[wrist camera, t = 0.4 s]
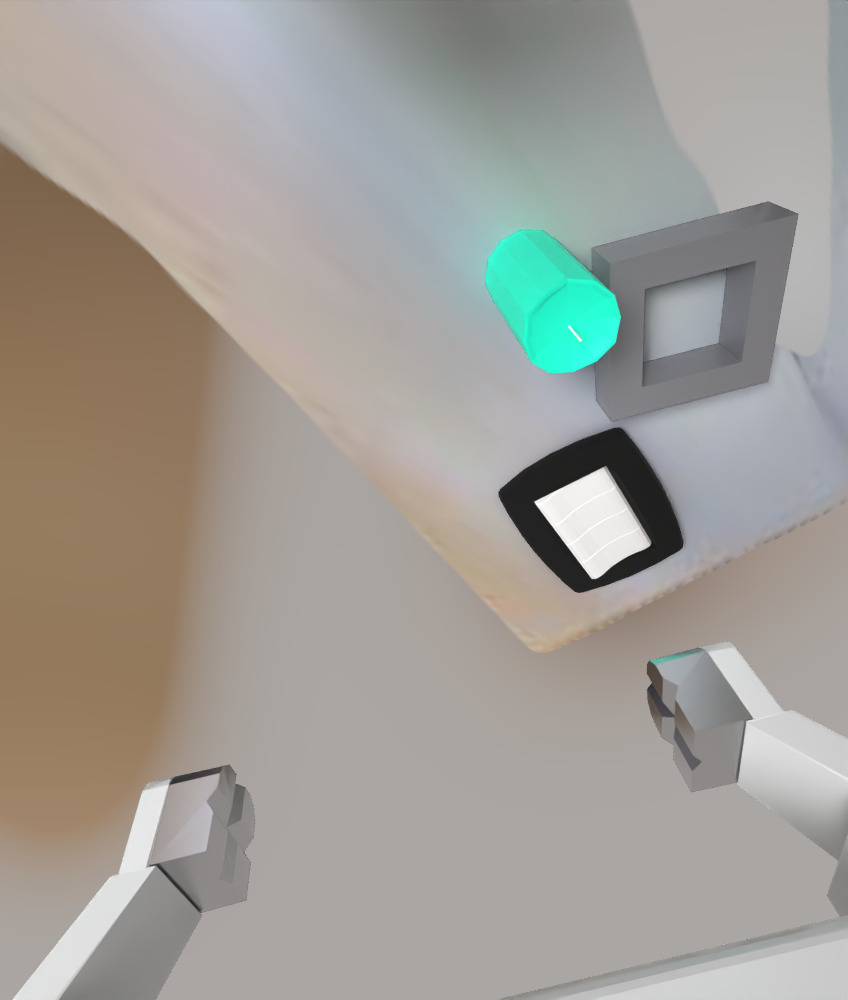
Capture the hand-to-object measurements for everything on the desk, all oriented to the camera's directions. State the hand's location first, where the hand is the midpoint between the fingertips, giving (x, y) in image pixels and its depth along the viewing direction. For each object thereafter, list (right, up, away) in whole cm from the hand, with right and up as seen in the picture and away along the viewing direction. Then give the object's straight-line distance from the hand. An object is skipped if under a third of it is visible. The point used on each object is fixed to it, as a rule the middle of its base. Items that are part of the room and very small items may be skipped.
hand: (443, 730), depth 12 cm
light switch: (+17, +3, +49) cm, 52 cm away
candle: (+7, +21, +33) cm, 40 cm away
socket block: (+19, +19, +36) cm, 45 cm away
